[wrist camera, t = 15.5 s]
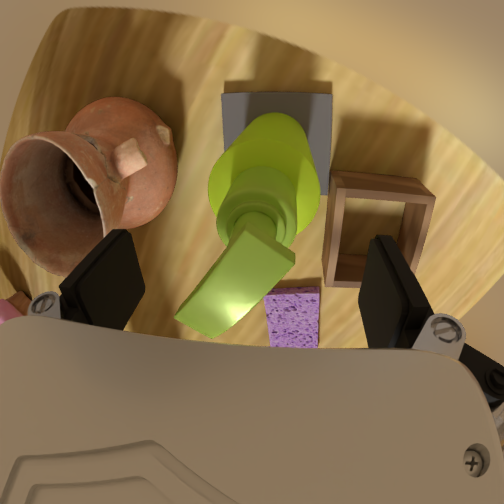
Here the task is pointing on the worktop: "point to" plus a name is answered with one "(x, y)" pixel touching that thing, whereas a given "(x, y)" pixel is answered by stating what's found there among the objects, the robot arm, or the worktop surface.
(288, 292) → the sponges
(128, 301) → the robot arm
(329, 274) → the holder
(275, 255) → the soap dispenser
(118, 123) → the ceramic jug
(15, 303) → the cupcake
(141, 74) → the worktop surface
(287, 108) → the mat
